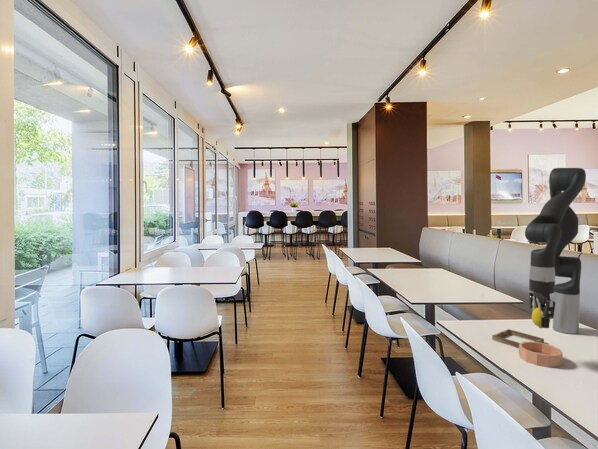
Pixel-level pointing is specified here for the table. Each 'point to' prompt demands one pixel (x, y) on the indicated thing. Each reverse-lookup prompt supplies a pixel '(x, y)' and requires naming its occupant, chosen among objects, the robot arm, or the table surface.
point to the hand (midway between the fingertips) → (540, 324)
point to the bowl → (540, 354)
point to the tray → (498, 336)
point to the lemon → (537, 317)
